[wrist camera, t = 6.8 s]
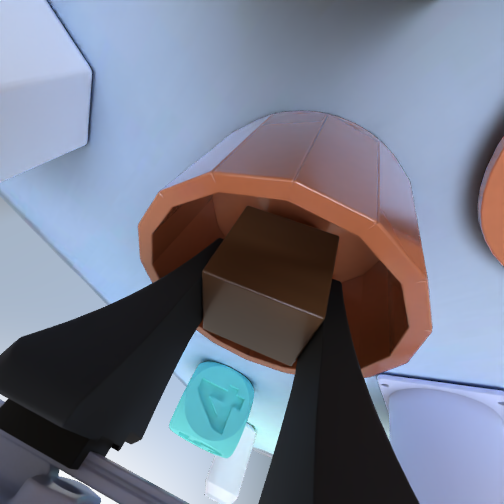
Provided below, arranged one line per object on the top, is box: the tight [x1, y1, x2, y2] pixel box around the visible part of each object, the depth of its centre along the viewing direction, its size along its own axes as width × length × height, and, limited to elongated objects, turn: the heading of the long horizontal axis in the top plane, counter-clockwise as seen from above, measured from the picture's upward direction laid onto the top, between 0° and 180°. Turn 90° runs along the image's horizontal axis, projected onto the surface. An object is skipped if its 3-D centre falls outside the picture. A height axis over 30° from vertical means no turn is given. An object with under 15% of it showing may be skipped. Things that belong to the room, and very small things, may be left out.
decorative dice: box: [169, 361, 254, 458], centre depth 32 cm, size 8×8×8 cm
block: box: [202, 206, 339, 366], centre depth 10 cm, size 4×4×4 cm
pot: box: [138, 111, 433, 378], centre depth 11 cm, size 11×11×6 cm
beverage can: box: [204, 423, 256, 504], centre depth 47 cm, size 6×6×12 cm
